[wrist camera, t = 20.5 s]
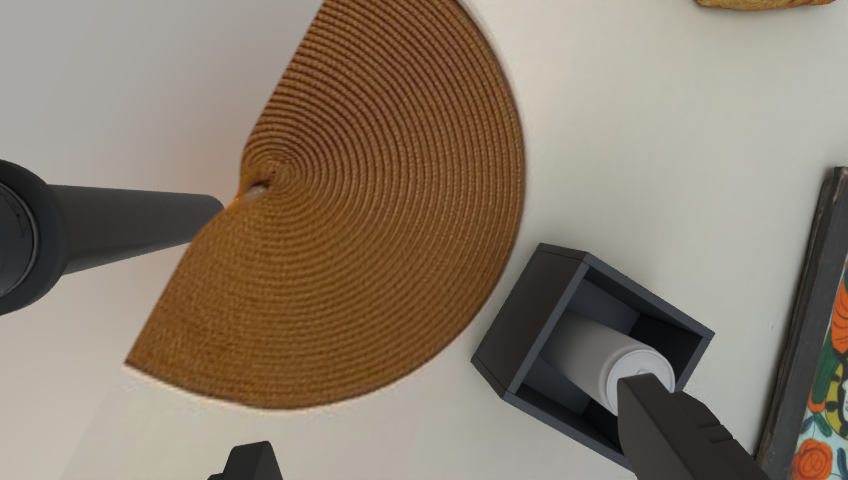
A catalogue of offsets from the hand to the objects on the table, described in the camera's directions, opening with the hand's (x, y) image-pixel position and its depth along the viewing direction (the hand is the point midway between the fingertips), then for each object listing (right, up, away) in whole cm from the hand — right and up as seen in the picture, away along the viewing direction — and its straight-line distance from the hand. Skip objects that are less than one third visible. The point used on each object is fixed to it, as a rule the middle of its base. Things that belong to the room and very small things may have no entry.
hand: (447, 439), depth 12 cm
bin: (+11, -3, +33) cm, 35 cm away
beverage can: (+11, -3, +32) cm, 34 cm away
